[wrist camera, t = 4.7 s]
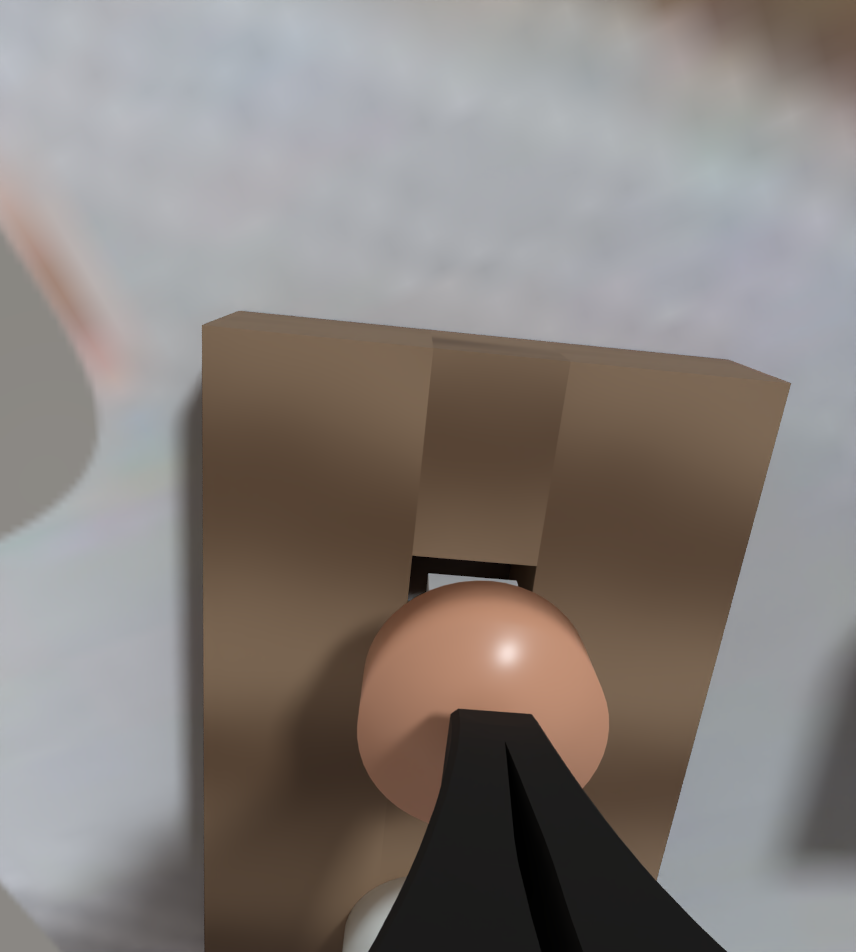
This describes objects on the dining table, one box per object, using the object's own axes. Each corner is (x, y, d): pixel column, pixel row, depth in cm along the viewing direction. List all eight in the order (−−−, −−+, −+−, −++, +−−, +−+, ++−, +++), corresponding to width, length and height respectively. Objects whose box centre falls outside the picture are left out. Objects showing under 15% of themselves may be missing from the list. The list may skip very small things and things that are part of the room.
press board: (578, 989, 24) (599, 1089, 21) (230, 970, 23) (205, 1070, 21) (728, 359, 17) (791, 383, 14) (238, 311, 16) (201, 324, 14)
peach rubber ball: (547, 703, 17) (585, 839, 13) (364, 689, 16) (349, 824, 13) (577, 536, 15) (631, 634, 11) (379, 519, 15) (366, 612, 11)
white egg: (485, 915, 22) (499, 1054, 18) (347, 907, 22) (333, 1045, 18) (503, 807, 21) (522, 933, 17) (357, 797, 21) (344, 922, 17)
